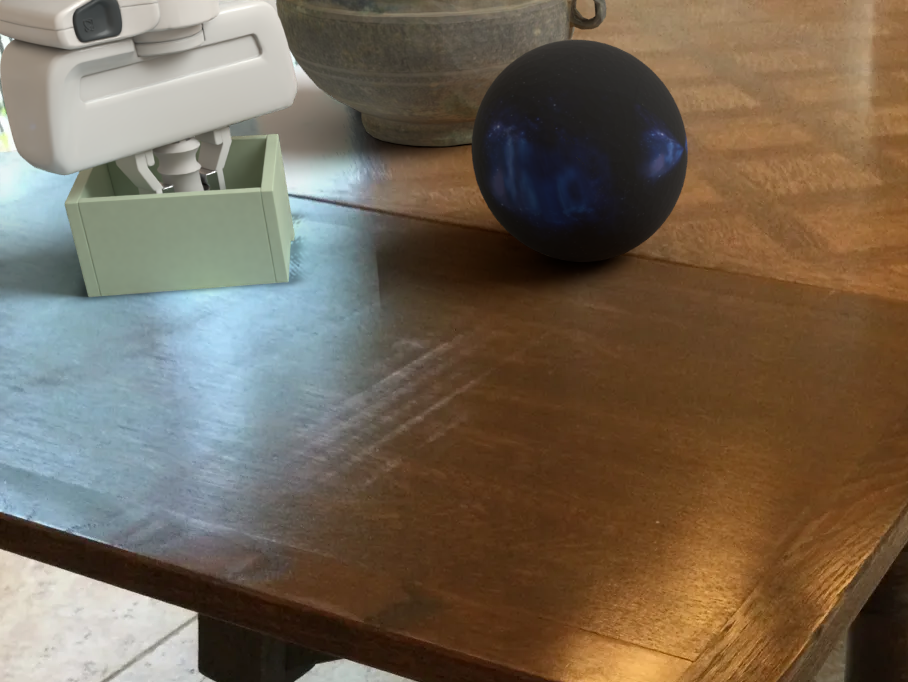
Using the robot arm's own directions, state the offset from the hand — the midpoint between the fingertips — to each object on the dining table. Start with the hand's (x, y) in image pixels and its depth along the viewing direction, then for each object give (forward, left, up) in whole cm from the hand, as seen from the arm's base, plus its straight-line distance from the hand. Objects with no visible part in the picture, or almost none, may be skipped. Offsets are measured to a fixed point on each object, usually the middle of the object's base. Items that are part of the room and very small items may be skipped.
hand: (185, 203), depth 92 cm
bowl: (+19, +33, -5) cm, 38 cm away
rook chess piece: (0, 0, -3) cm, 3 cm away
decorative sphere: (+27, -2, -5) cm, 28 cm away
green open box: (0, 0, -5) cm, 5 cm away
